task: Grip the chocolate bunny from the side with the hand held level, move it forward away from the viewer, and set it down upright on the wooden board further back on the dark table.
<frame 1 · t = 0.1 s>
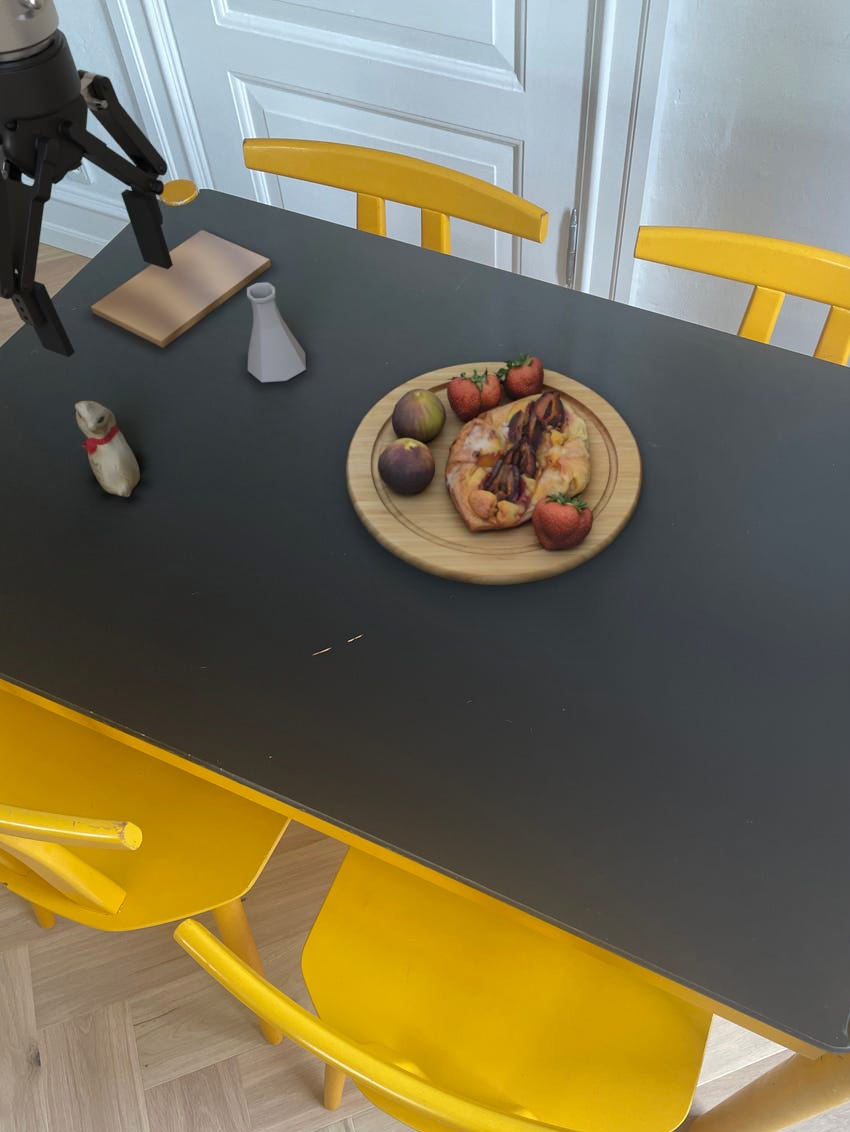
hand: (111, 305, 78), 21 cm above the table, tool pointing down, fingers open, 13 cm apart
flask: (277, 365, 107), on the table
wooden plate: (493, 475, 97), on the table
wooden board: (184, 289, 114), on the table
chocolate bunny: (117, 472, 97), on the table
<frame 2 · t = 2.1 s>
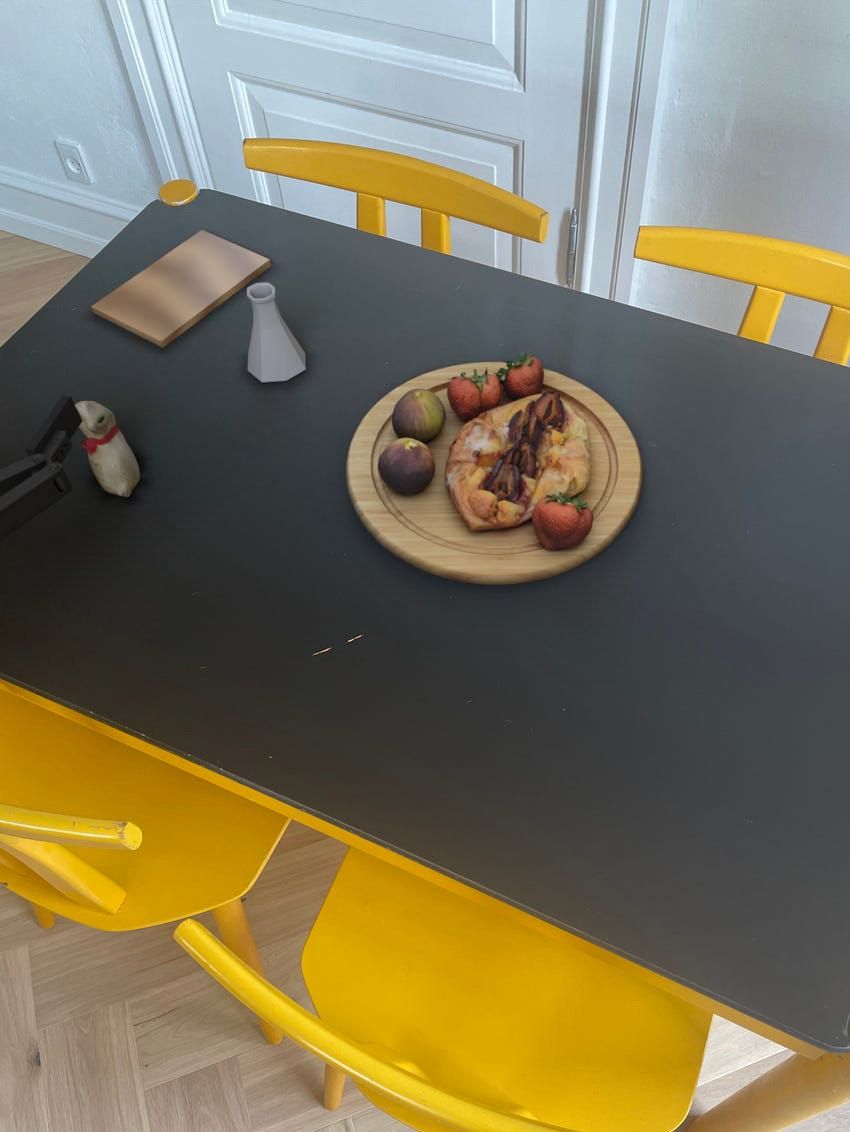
nothing on the table moved.
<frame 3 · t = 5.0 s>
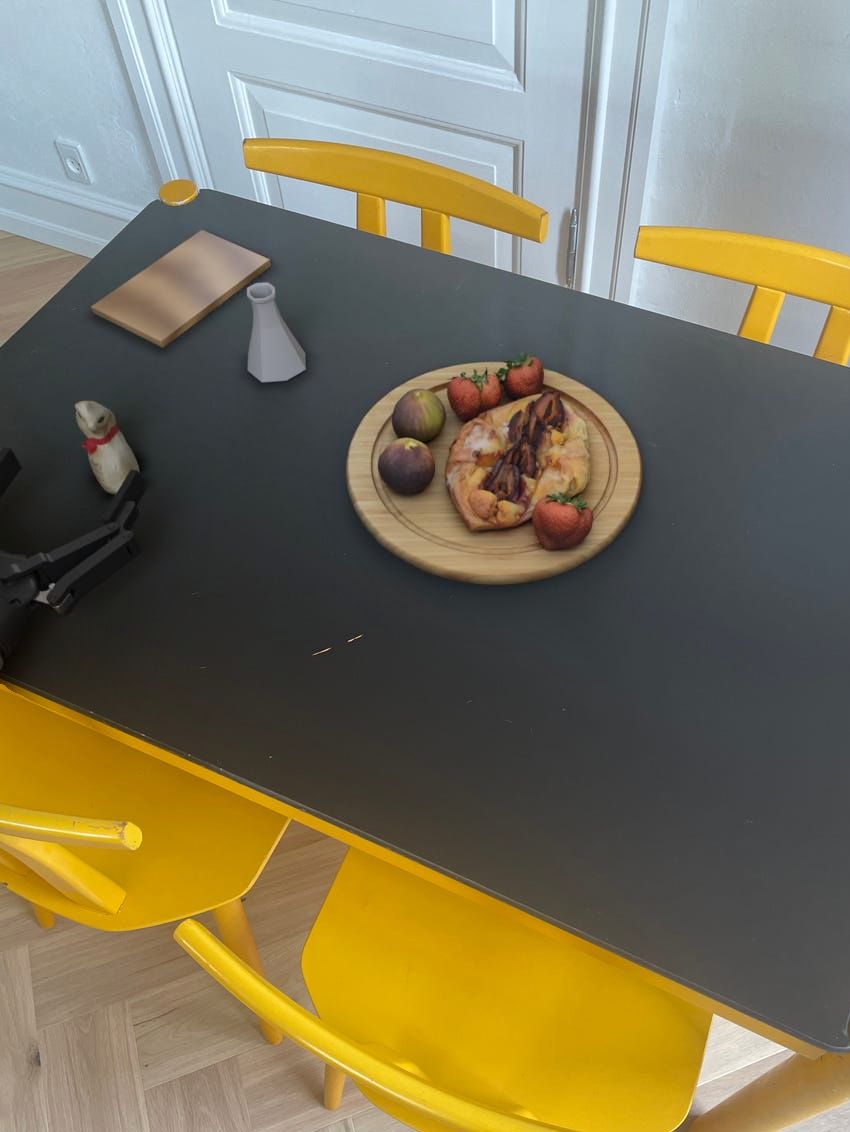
hand: (75, 467, 89), 6 cm above the table, tool horizontal, fingers open, 13 cm apart
nothing on the table moved.
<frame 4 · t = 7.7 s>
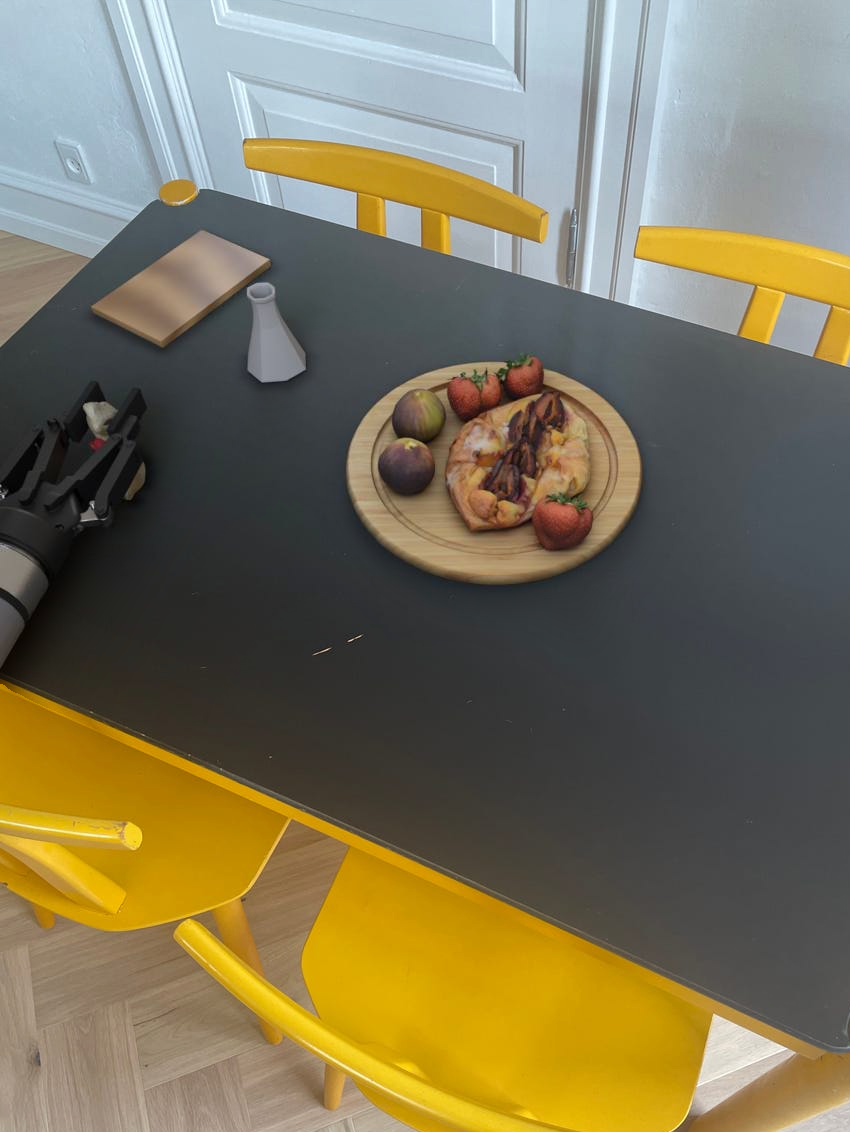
hand: (119, 394, 94), 6 cm above the table, tool horizontal, fingers closed on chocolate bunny, 4 cm apart
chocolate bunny: (124, 473, 97), on the table, touching gripper
everything else where it was.
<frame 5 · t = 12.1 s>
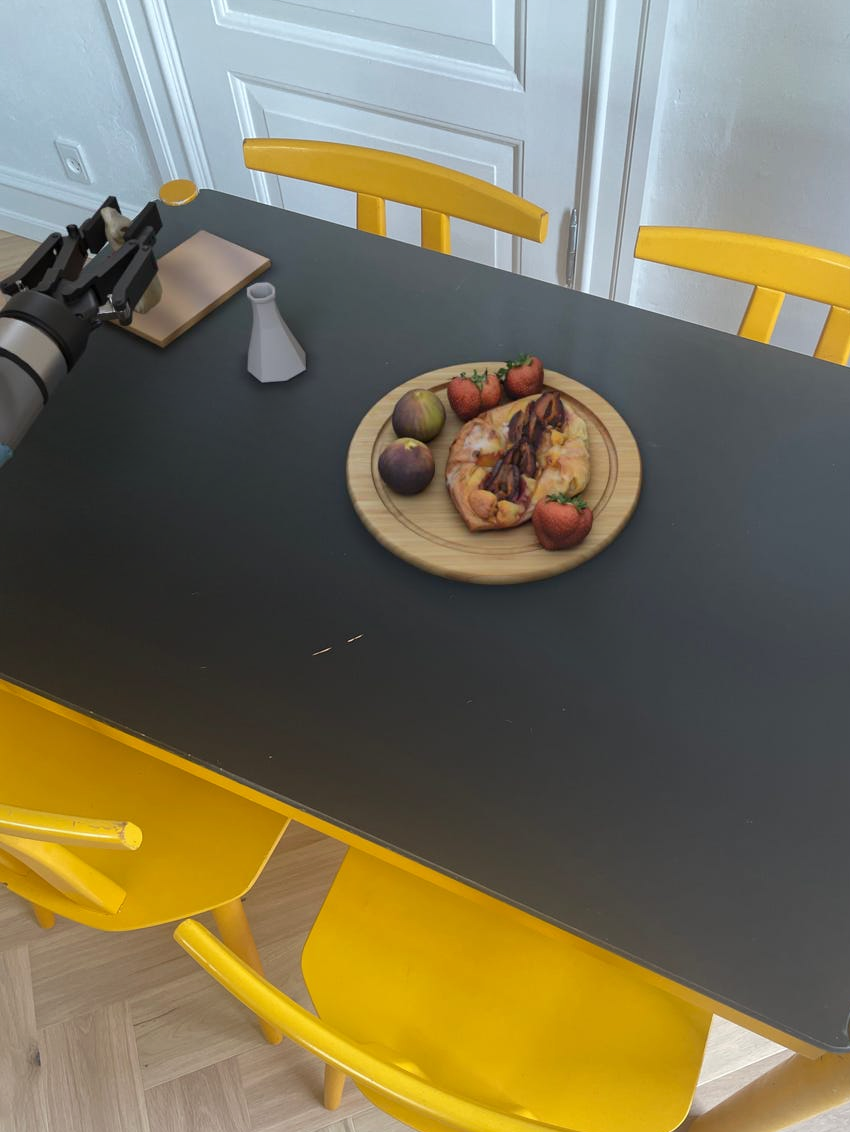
hand: (136, 211, 96), 16 cm above the table, tool horizontal, fingers closed on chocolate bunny, 4 cm apart
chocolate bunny: (142, 293, 98), point 9 cm above the table, touching gripper
everything else where it was.
when the fingers open (7 cm above the table, at t = 16.7 s): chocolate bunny stays where it is, resting on wooden board.
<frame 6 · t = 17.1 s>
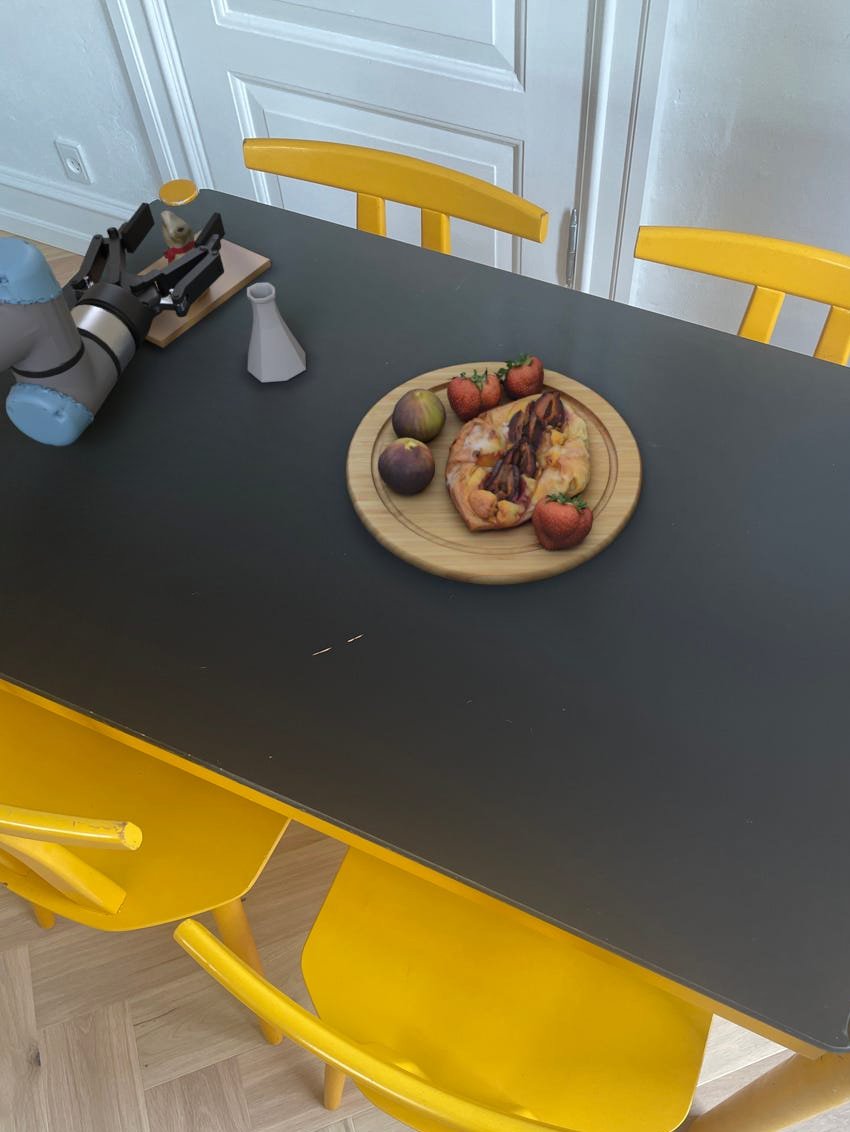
hand: (184, 218, 111), 7 cm above the table, tool horizontal, fingers open, 9 cm apart
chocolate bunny: (191, 285, 113), point 1 cm above the table, touching wooden board
everything else where it was.
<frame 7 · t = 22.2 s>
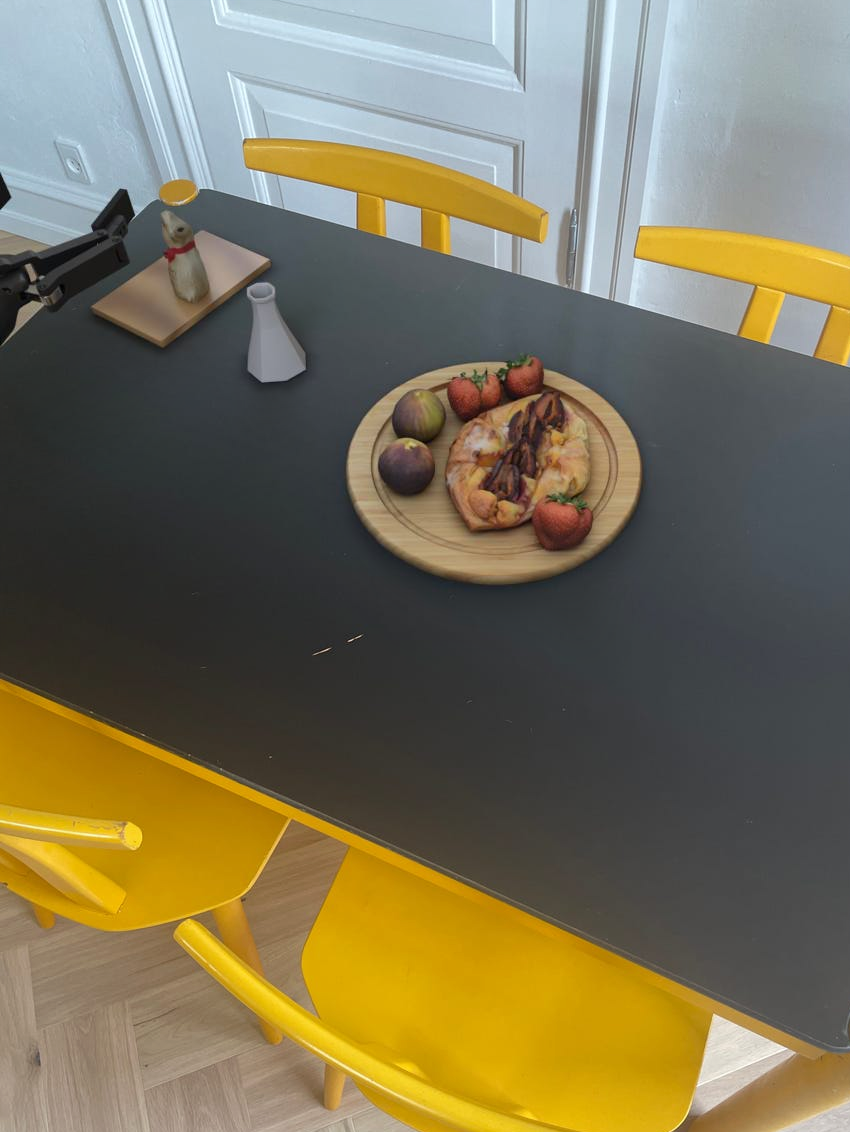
hand: (64, 192, 90), 20 cm above the table, tool horizontal, fingers open, 13 cm apart
nothing on the table moved.
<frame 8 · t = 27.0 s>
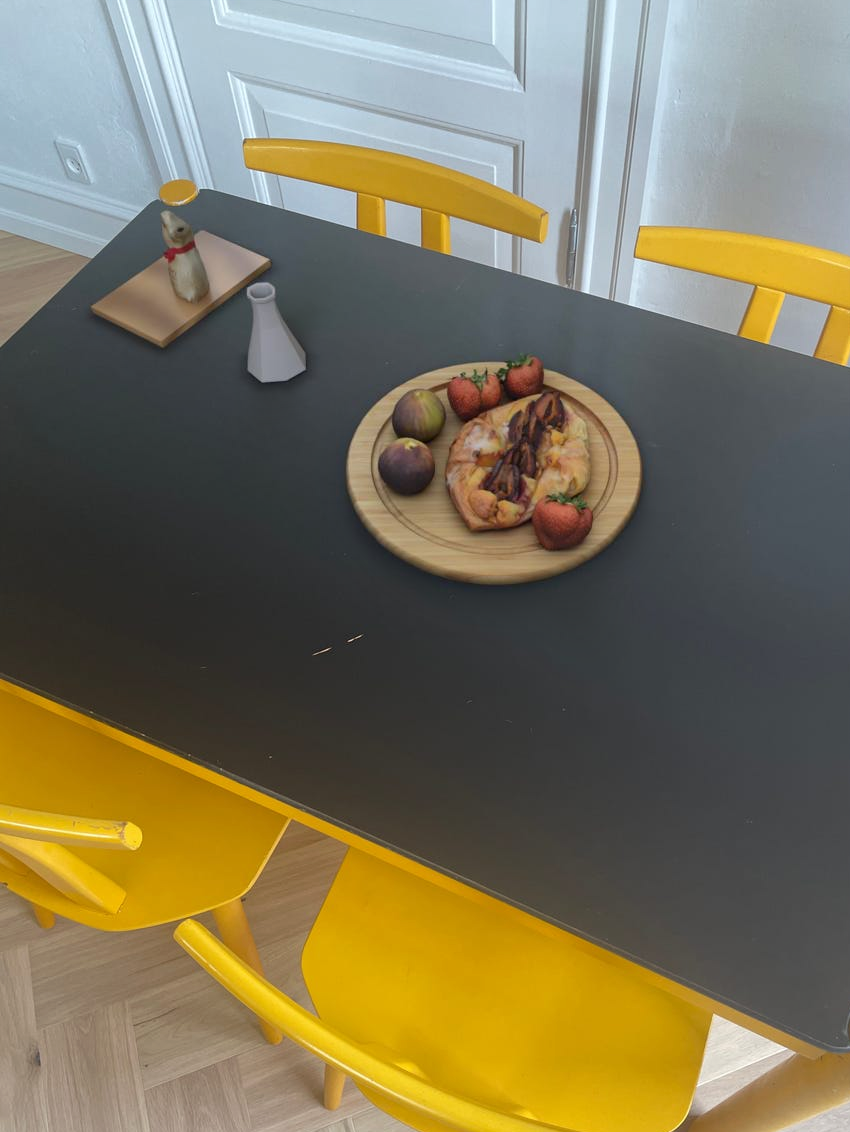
nothing on the table moved.
at the end: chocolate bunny inside the target area on the wooden board (1.2 cm from its centre), point 0.8 cm above the wooden board's base; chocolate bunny tilted 0°; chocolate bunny moved 31.9 cm from its start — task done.
